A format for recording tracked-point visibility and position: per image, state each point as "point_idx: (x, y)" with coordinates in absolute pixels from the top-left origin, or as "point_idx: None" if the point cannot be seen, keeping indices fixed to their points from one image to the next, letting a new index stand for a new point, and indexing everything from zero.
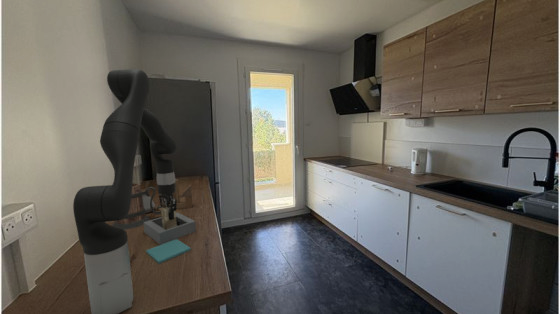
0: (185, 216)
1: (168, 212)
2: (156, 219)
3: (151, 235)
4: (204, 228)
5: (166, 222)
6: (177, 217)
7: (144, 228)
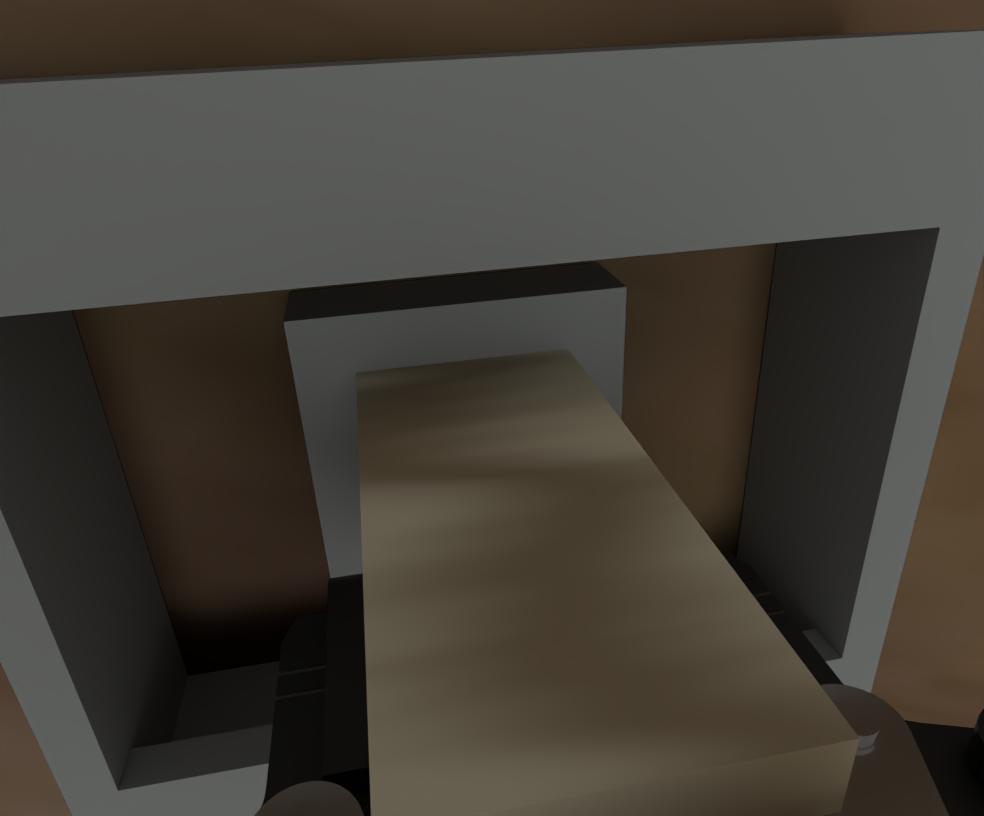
0: None
1: (348, 770)
2: (907, 352)
3: (445, 56)
4: None
5: (362, 474)
6: None
7: (882, 33)
